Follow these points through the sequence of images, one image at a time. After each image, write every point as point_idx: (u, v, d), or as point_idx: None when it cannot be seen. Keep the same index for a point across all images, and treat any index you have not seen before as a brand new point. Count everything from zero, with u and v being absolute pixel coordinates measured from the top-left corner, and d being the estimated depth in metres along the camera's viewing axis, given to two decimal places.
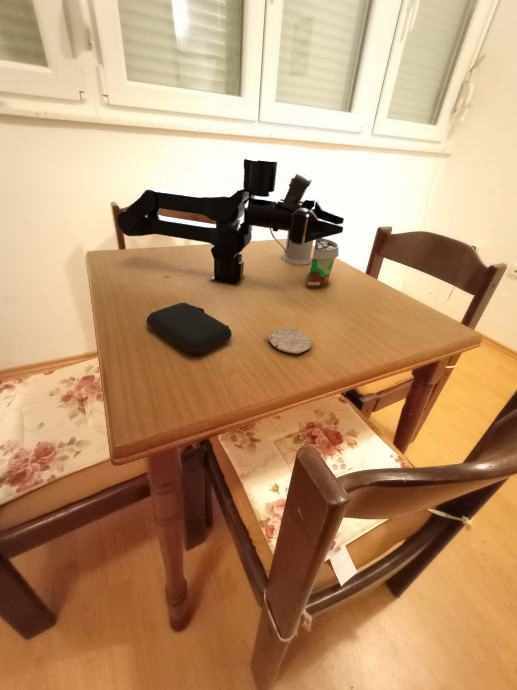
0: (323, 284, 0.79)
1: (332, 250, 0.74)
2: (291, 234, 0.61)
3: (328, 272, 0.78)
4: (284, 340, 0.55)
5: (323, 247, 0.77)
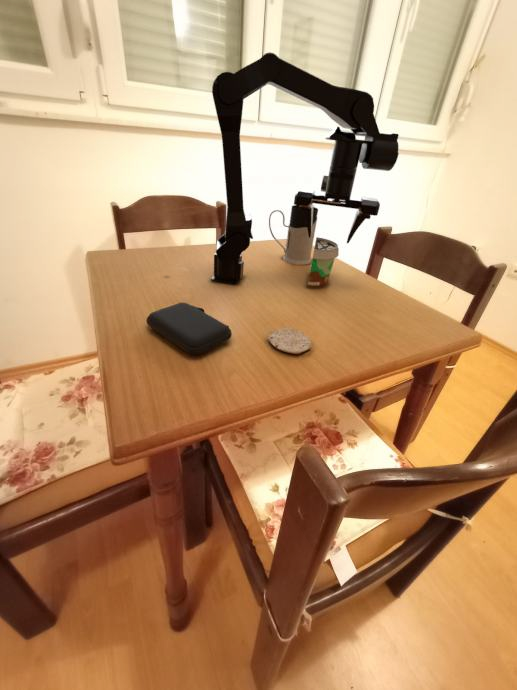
0: (323, 284, 0.79)
1: (332, 250, 0.74)
2: (379, 203, 0.68)
3: (328, 272, 0.78)
4: (284, 340, 0.55)
5: (323, 247, 0.77)
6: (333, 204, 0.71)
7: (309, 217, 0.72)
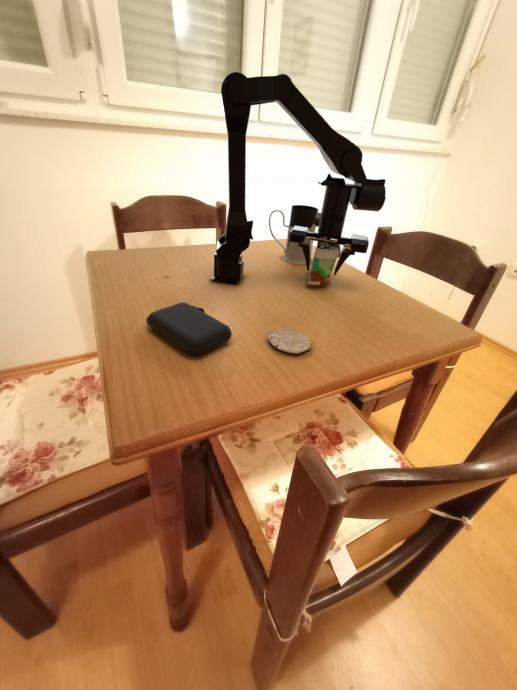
0: (323, 284, 0.79)
1: (335, 250, 0.74)
2: (368, 242, 0.73)
3: (329, 272, 0.78)
4: (284, 340, 0.55)
5: (325, 247, 0.77)
6: (325, 241, 0.76)
7: (307, 253, 0.77)
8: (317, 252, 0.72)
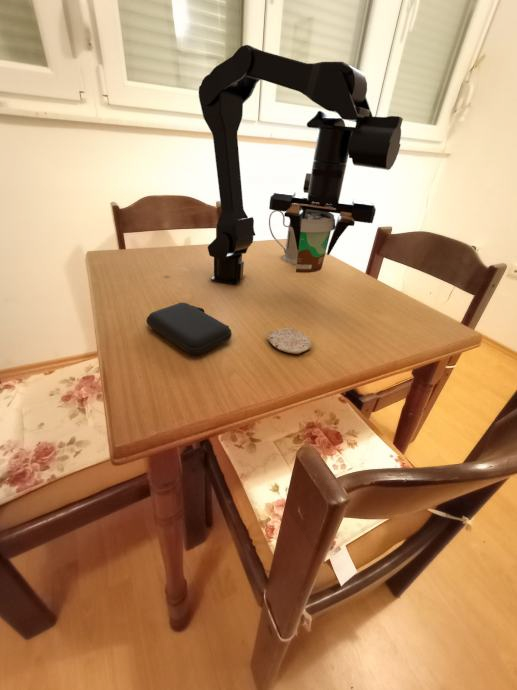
0: (316, 267, 0.61)
1: (326, 220, 0.55)
2: None
3: (322, 251, 0.59)
4: (284, 340, 0.55)
5: (315, 218, 0.59)
6: (318, 209, 0.57)
7: (297, 226, 0.58)
8: (303, 224, 0.54)
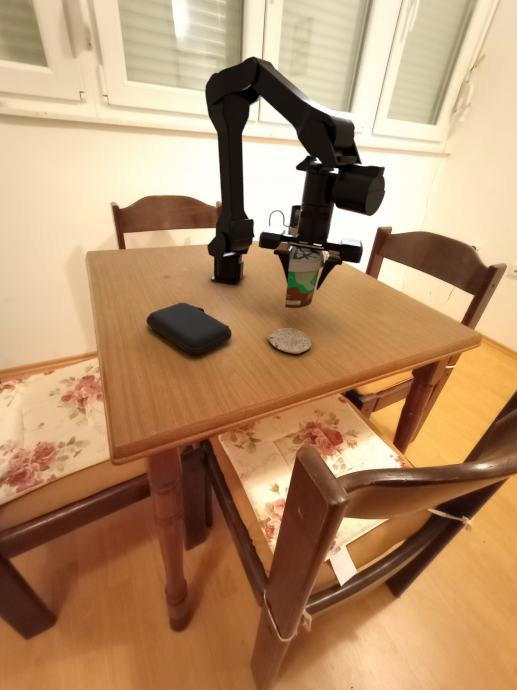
0: (306, 303, 0.62)
1: (314, 259, 0.56)
2: (362, 248, 0.55)
3: (311, 287, 0.60)
4: (284, 340, 0.55)
5: (304, 255, 0.59)
6: (307, 246, 0.58)
7: (286, 263, 0.59)
8: (291, 264, 0.55)
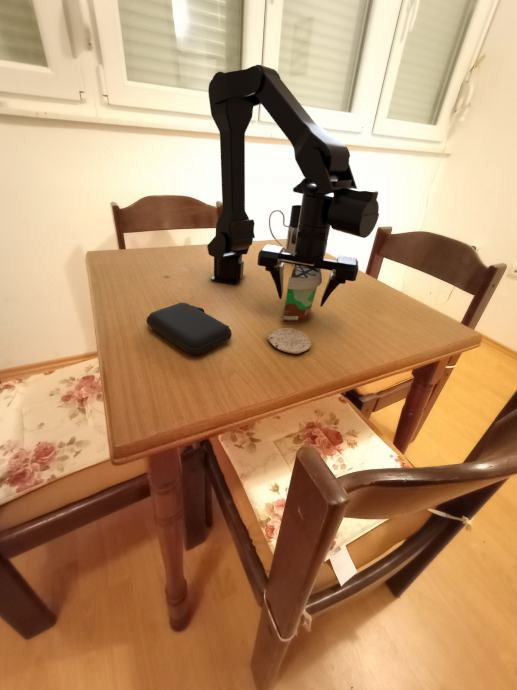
0: (303, 318, 0.63)
1: (313, 278, 0.58)
2: None
3: (309, 304, 0.62)
4: (284, 340, 0.55)
5: (302, 272, 0.61)
6: (304, 264, 0.60)
7: (278, 279, 0.61)
8: (289, 282, 0.57)
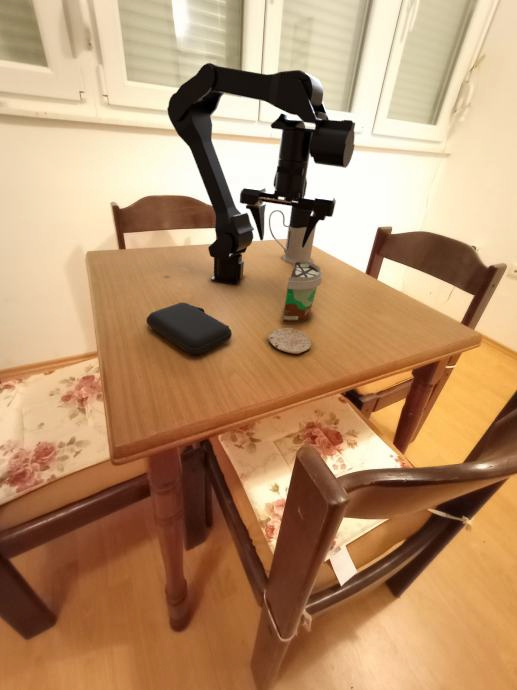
0: (303, 318, 0.63)
1: (313, 278, 0.58)
2: (334, 203, 0.60)
3: (309, 304, 0.62)
4: (284, 340, 0.55)
5: (302, 272, 0.61)
6: (284, 203, 0.63)
7: (258, 217, 0.64)
8: (289, 282, 0.57)
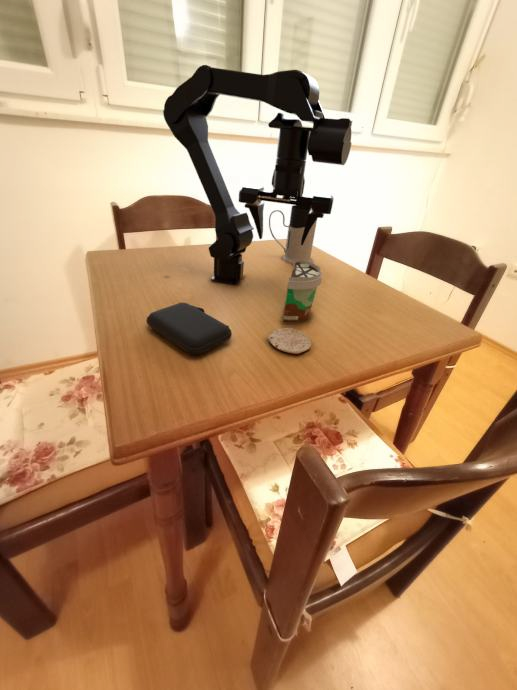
0: (303, 318, 0.63)
1: (313, 278, 0.58)
2: (332, 200, 0.60)
3: (309, 304, 0.62)
4: (284, 340, 0.55)
5: (302, 272, 0.61)
6: (283, 201, 0.63)
7: (257, 216, 0.64)
8: (289, 282, 0.57)
